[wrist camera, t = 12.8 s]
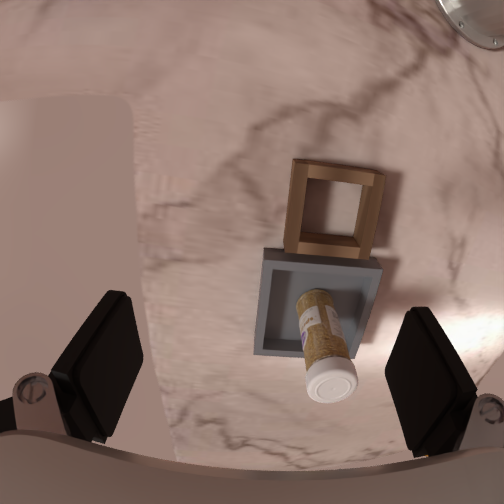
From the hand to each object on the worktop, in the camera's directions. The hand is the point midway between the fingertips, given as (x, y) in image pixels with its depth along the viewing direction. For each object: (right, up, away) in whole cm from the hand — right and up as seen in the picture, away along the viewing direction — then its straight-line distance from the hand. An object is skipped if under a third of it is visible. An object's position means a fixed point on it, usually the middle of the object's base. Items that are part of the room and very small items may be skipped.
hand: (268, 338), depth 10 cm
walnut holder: (+8, +8, +23) cm, 25 cm away
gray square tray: (+7, -3, +28) cm, 29 cm away
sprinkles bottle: (+7, -3, +27) cm, 28 cm away
